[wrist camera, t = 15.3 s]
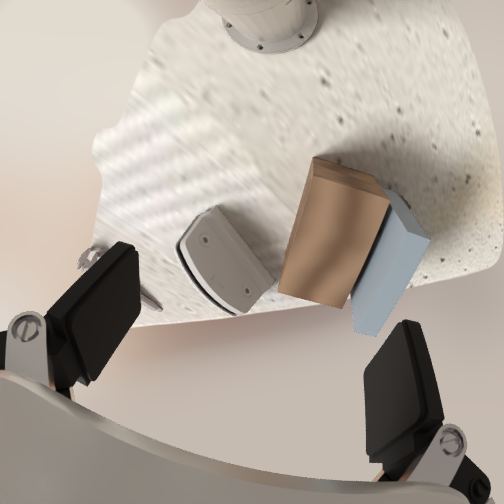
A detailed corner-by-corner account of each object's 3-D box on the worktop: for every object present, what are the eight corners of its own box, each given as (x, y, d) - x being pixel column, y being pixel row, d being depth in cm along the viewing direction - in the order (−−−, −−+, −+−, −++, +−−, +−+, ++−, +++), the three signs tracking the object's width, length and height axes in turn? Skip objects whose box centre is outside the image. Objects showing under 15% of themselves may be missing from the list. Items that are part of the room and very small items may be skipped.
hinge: (276, 282, 50) (249, 327, 43) (256, 286, 53) (229, 328, 47) (214, 203, 45) (175, 241, 38) (198, 213, 48) (159, 250, 41)
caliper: (89, 249, 55) (72, 264, 50) (91, 246, 55) (73, 261, 50) (161, 310, 60) (148, 330, 54) (163, 308, 59) (151, 328, 54)
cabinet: (285, 253, 47) (277, 292, 38) (312, 157, 38) (313, 175, 30) (367, 276, 46) (376, 317, 37) (406, 188, 37) (429, 215, 29)
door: (346, 265, 46) (354, 332, 33) (378, 185, 38) (407, 231, 26) (369, 272, 45) (383, 338, 33) (403, 194, 38) (439, 243, 25)
